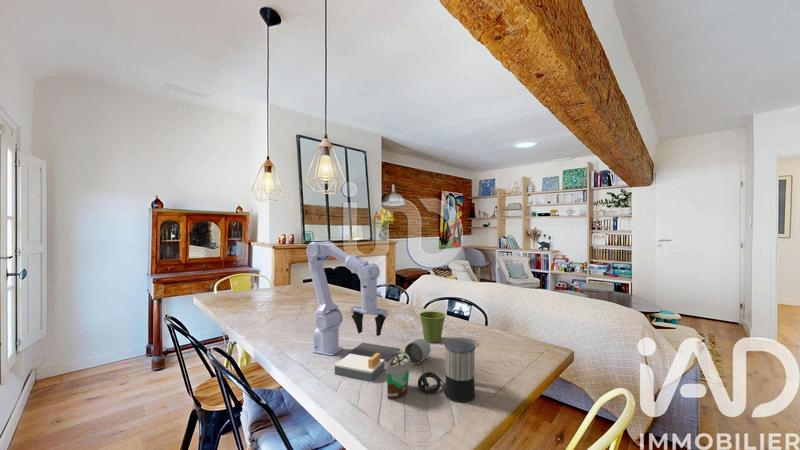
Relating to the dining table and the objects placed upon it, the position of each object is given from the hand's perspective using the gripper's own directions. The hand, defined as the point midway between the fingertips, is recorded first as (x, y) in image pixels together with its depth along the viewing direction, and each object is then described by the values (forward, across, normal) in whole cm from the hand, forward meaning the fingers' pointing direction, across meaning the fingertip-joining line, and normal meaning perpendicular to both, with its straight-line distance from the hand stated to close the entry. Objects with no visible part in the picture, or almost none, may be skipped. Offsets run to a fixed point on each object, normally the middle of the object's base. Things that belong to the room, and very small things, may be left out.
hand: (369, 333), depth 118 cm
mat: (+10, -2, +9) cm, 14 cm away
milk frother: (+11, +31, -11) cm, 35 cm away
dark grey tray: (+10, +1, -8) cm, 13 cm away
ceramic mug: (+11, +15, +8) cm, 20 cm away
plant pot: (+10, +16, +30) cm, 35 cm away
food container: (+11, +18, -15) cm, 26 cm away
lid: (+8, +1, -8) cm, 11 cm away
